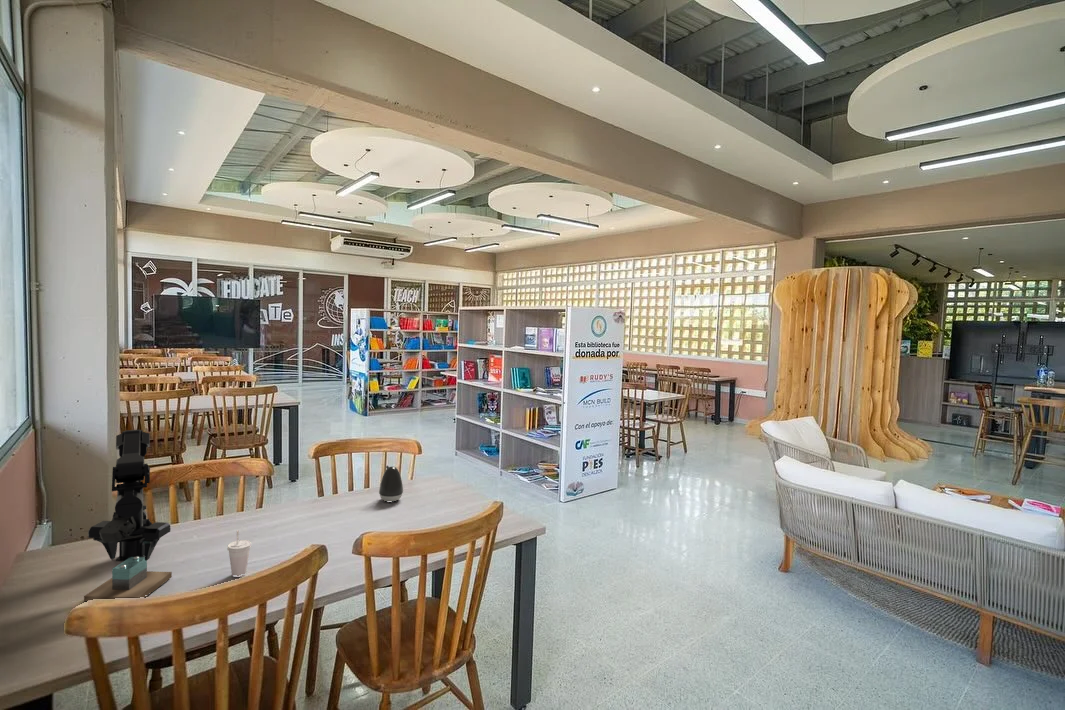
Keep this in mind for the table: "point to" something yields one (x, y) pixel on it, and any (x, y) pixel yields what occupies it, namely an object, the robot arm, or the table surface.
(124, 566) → the housing
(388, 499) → the black egg-shaped speaker
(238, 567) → the smoothie
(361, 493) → the table surface
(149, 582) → the stand
